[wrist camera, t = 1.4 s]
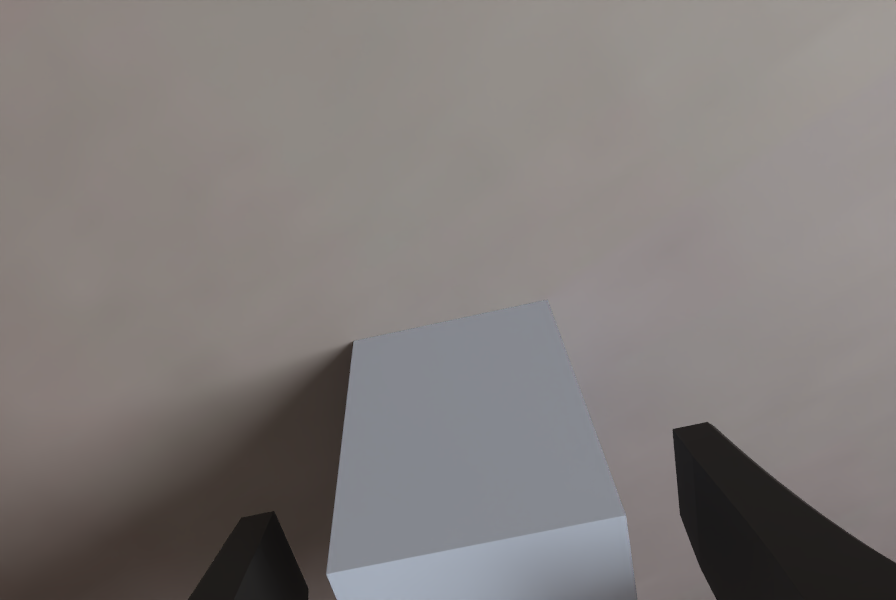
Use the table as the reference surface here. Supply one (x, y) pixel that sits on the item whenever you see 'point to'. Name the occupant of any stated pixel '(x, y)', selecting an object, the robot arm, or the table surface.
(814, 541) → the robot arm
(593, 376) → the table surface
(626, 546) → the plug
